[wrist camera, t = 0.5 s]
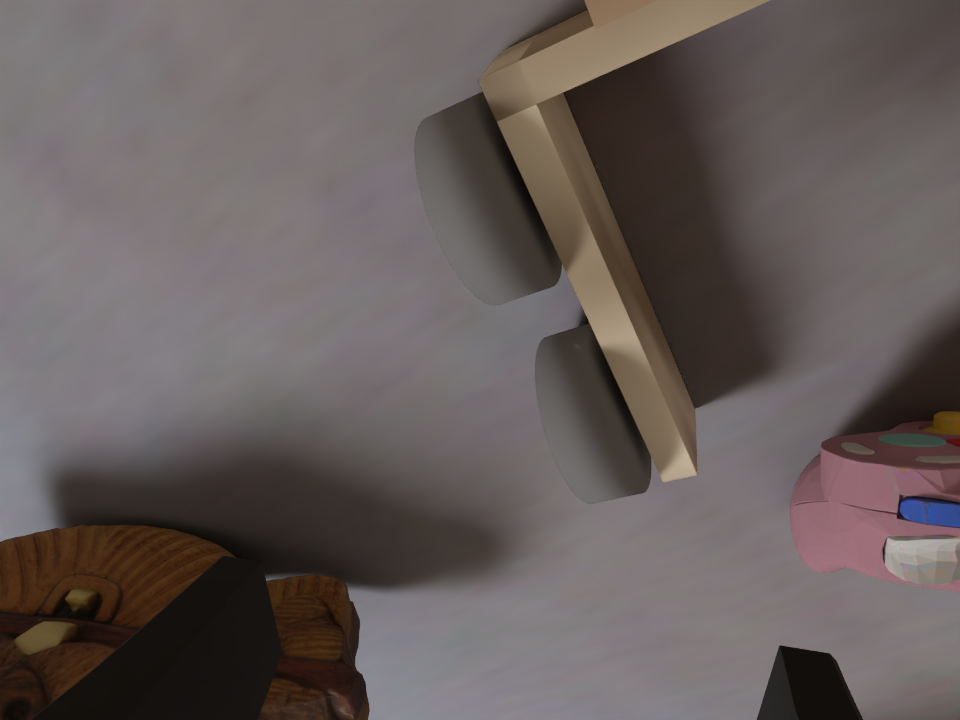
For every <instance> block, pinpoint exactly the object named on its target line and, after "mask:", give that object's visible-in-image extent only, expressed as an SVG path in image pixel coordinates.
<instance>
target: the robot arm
mask: <svg viewBox="0 0 960 720" xmlns="http://www.w3.org/2000/svg"><path fill="white" fill-rule="evenodd" d="M281 655H282V647H281V643H280V639H279V634H278V630H277V626H276V622H275V617H274V613H273V609H272V604H271V600H270V596H269V591H268V587H267V583H266V578H265V574H264V570H263V565H262V562H260V561H254V560H248V559H241V558H235V557H229V556H222V557H221V558H220V559H218V560H217V561H216V562H215V563H214V564H213V565H211V566H210V567H209V568H208V569H207V570H206V571H205V572H203V573H202V574H201V575H200V576H199V577H198V578H197V579H196V580H194V581H193V582H192V583H191V584H190V585H189V586H188V587H187V588H185V589H184V590H183V591H182V592H181V593H180V594H179V595H178V596H177V597H175V598H174V599H173V600H172V601H171V602H170V603H169V604H168V605H166V606H165V607H164V608H163V609H162V610H161V611H160V612H159V613H157V614H156V615H155V616H154V617H153V618H152V619H151V620H150V621H148V622H147V623H146V624H145V625H144V626H143V627H142V628H140V629H139V630H138V631H137V632H136V633H135V634H134V635H132V636H131V637H130V638H129V639H128V640H127V641H125V642H124V643H123V644H122V645H121V646H120V647H118V648H117V649H116V650H115V651H114V652H113V653H111V654H110V655H109V656H108V657H107V658H106V659H104V660H103V661H102V662H101V663H100V664H98V665H97V666H96V667H95V668H94V669H93V670H91V671H90V672H89V673H88V674H87V675H85V676H84V677H83V678H82V679H81V680H79V681H78V682H77V683H76V684H75V685H73V686H72V687H71V688H70V689H68V690H67V691H66V692H64V693H63V694H62V695H61V696H59V697H58V698H57V699H56V700H54V701H53V702H52V703H51V704H49V705H48V706H47V707H46V708H44V709H43V710H42V711H41V712H39V713H38V714H37V715H35V716H34V717H33V718H32V719H30V720H258V717H259V714H260V712H261V709H262V707H263V704H264V701H265V699H266V696H267V694H268V691H269V688H270V686H271V683H272V680H273V677H274V674H275V672H276V669H277V666H278V663H279V660H280V658H281ZM757 720H863V719H862V716H861V714H860V712H859V710H858V708H857V706H856V704H855V702H854V699H853V697H852V695H851V693H850V691H849V688H848V686H847V684H846V682H845V680H844V677H843V675H842V673H841V670H840V668H839V666H838V663H837V661H836V660H835V659H834V658H833V657H832V656H831V654H829V653H823V652H817V651H811V650H805V649H798V648H792V647H786V646H779V649H778V652H777V655H776V659H775V662H774V665H773V668H772V672H771V675H770V678H769V682H768V685H767V688H766V691H765V695H764V698H763V701H762V704H761V708H760V711H759V714H758V717H757Z"/></svg>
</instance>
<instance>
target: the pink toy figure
mask: <svg viewBox="0 0 960 720" xmlns="http://www.w3.org/2000/svg"><path fill="white" fill-rule="evenodd" d="M790 520H791V531H792V534H793V538H794V542H795V546H796V549H797V551H798V553H799V555H800V557H801V559H802V561H803V562H804V563H805V564H806V565H807V566H808V567H809V568H811V569H812V570H814V571H817V572H822V573H828V572H834V571H837V570H839V569H842V568H846V567H848V568H851V569H854V570H856V571H859V572H861V573H864V574H866V575H869V576H872V577H876V578H879V579H883V580H887V581H893V582H899V583H905V584H911V585H916V586H922V587H929V588H935V589H943V590H950V591H958V592H960V412H956V411H942V412H939V413H937V414H935V415H934V418H933V421H916V422H908V423H901V424H900V425H898V426H896V427H895V428H893V429H891V430H887V431H881V432H872V433H863V434H854V435H846V436H837V437H833V438H830V439H827V440H825V441H823V442H822V444H821V454H819V455H818V456H816V457H815V458H814V459H813V460H812V461H811V462H810V463H809V464H808V465H807V466H806V468H805V469H804V471H803V472H802V473H801V475H800V477H799V479H798V480H797V482H796V484H795V486H794V489H793V493H792V497H791V504H790Z"/></svg>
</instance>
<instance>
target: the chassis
mask: <svg viewBox="0 0 960 720" xmlns="http://www.w3.org/2000/svg"><path fill="white" fill-rule="evenodd" d="M584 1H585V3H586V6H587V9H588V10H586V11H584V12H582V13H580V14H578V15H576V16H574V17H572V18H570V19H568V20H566V21H564V22H561V23H559V24H557V25H555V26H553V27H551V28H549V29H547V30H545V31H543V32H541V33H539V34H537V35H535V36H532V37H530V38H528V39H526V40H524V41H522V42H520V43H518V44H516V45H514V46H512V47H510V48H508V49H506V50H503V51H502V53H501V54H500V55H499V56H498V57H497V58H496V60H495V61H494V62H493V63H492V64H491V66H490V67H489V68H488V69H487V70H486V71H485V73H484V74H483V75H482V76H481V77H480V78H479V80H478V82H479V84H480V87H481V89H482V91H483V92H482V93H479V94H476V95H474V96H472V97H470V98H468V99H466V100H464V101H461V102H459V103H457V104H455V105H453V106H451V107H449V108H446V109H444V110H442V111H440V112H438V113H436V114H433V115H431V116H429V117H427V118H425V119H424V120H423V121H422V122H421V123H420V125H419V127H418V129H417V132H416V137H415V147H414V153H415V166H416V174H417V179H418V184H419V189H420V193H421V197H422V200H423V204H424V207H425V210H426V213H427V216H428V219H429V221H430V224H431V227H432V229H433V231H434V234H435V236H436V238H437V241H438V243H439V245H440V247H441V249H442V251H443V253H444V254H445V256H446V258H447V260H448V262H449V263H450V265H451V267H452V268H453V270H454V271H455V273H456V274H457V276H458V277H459V278H460V280H461V281H462V282H463V284H464V285H465V286H466V287H467V288H468V289H469V290H470V292H471V293H473V294H474V295H475V296H476V297H477V298H478V299H480V300H481V301H483V302H484V303H487V304H489V305H500V304H503V303H506V302H509V301H512V300H515V299H518V298H521V297H524V296H527V295H529V294H532V293H535V292H538V291H541V290H544V289H547V288H550V287H553V286H554V285H556V284H557V282H558V281H559V278H560V275H561V269H562V264H563V266H564V269H565V271H566V273H567V275H568V277H569V279H570V282H571V284H572V286H573V288H574V290H575V292H576V295H577V297H578V299H579V301H580V303H581V305H582V308H583V310H584V312H585V314H586V316H587V318H588V321H589V323H590V324H586V325H583V326H580V327H577V328H573V329H570V330H567V331H564V332H561V333H557V334H554V335H551V336H548V337H545V338H544V339H543V340H542V341H541V342H540V344H539V346H538V349H537V354H536V361H535V382H536V392H537V399H538V405H539V410H540V415H541V420H542V423H543V427H544V431H545V434H546V437H547V440H548V444H549V446H550V449H551V452H552V455H553V457H554V459H555V462H556V464H557V466H558V468H559V470H560V472H561V474H562V476H563V478H564V480H565V481H566V483H567V485H568V486H569V487H570V489H571V490H572V492H573V493H574V494H575V495H576V496H577V497H578V498H579V499H580V500H581V501H583V502H585V503H587V504H593V503H598V502H603V501H608V500H612V499H617V498H622V497H626V496H631V495H636V494H641V493H644V492H645V491H646V490H647V489H648V487H649V484H650V479H651V457H652V459H653V461H654V463H655V466H656V468H657V470H658V472H659V474H660V476H661V479H662V481H663V482H667V481H671V480H676V479H681V478H685V477H690V476H695V475H697V449H696V419H695V408H694V406H693V403H692V401H691V399H690V396H689V394H688V391H687V389H686V387H685V384H684V382H683V379H682V377H681V375H680V372H679V370H678V367H677V365H676V363H675V360H674V358H673V355H672V353H671V351H670V348H669V346H668V343H667V341H666V339H665V336H664V334H663V331H662V329H661V327H660V324H659V322H658V319H657V317H656V315H655V312H654V310H653V307H652V305H651V303H650V300H649V298H648V295H647V293H646V291H645V288H644V286H643V283H642V281H641V279H640V276H639V274H638V271H637V269H636V267H635V264H634V262H633V259H632V257H631V255H630V252H629V250H628V247H627V245H626V243H625V240H624V238H623V235H622V233H621V231H620V228H619V226H618V223H617V221H616V219H615V216H614V214H613V211H612V209H611V207H610V204H609V202H608V199H607V197H606V195H605V192H604V190H603V187H602V185H601V183H600V180H599V178H598V175H597V173H596V171H595V168H594V166H593V163H592V161H591V159H590V156H589V154H588V151H587V149H586V147H585V144H584V142H583V139H582V137H581V135H580V132H579V130H578V127H577V125H576V123H575V120H574V118H573V115H572V113H571V111H570V108H569V106H568V103H567V101H566V99H565V96H564V94H563V92H565V91H568V90H570V89H572V88H574V87H577V86H579V85H581V84H583V83H586V82H588V81H590V80H592V79H595V78H597V77H599V76H601V75H604V74H606V73H608V72H610V71H613V70H615V69H617V68H619V67H622V66H624V65H626V64H628V63H631V62H633V61H635V60H637V59H640V58H642V57H644V56H646V55H649V54H651V53H653V52H655V51H658V50H660V49H662V48H665V47H667V46H669V45H671V44H674V43H676V42H678V41H680V40H683V39H685V38H687V37H689V36H692V35H694V34H696V33H698V32H701V31H703V30H705V29H707V28H710V27H712V26H714V25H716V24H719V23H721V22H723V21H725V20H728V19H730V18H732V17H734V16H737V15H739V14H741V13H743V12H746V11H748V10H750V9H752V8H755V7H757V6H759V5H761V4H764V3H766V2H768V1H770V0H584Z"/></svg>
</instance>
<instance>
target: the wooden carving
mask: <svg viewBox="0 0 960 720" xmlns="http://www.w3.org/2000/svg"><path fill="white" fill-rule="evenodd" d="M222 556H229V557H235V556H234V555H233V554H231V553H230V552H229V551H227V550H226V549H224V548H223V547H221V546H219V545H217V544H215V543H213V542H210V541H208V540H204V539H202V538H199V537H197V536H194V535H191V534H187V533H184V532H180V531H177V530H174V529H164V528H157V527H151V526H133V525H109V526H103V525H94V526H87V525H83V524H82V525H79V526H76V527H66V528H61V529H59V528H55V529H51V530H47V531H43V532H36V533H34V534H30V535H26V536H21V537H15V538H11V539H7V540H4V541H1V542H0V720H30V719H32V718H33V717H34V716H35V715H37V714H38V713H39V712H41V711H42V710H43V709H44V708H46V707H47V706H48V705H49V704H51V703H52V702H53V701H54V700H56V699H57V698H58V697H59V696H61V695H62V694H63V693H64V692H66V691H67V690H68V689H70V688H71V687H72V686H73V685H75V684H76V683H77V682H78V681H79V680H81V679H82V678H83V677H84V676H85V675H87V674H88V673H89V672H90V671H91V670H93V669H94V668H95V667H96V666H97V665H98V664H100V663H101V662H102V661H103V660H104V659H106V658H107V657H108V656H109V655H110V654H111V653H113V652H114V651H115V650H116V649H117V648H118V647H120V646H121V645H122V644H123V643H124V642H125V641H127V640H128V639H129V638H130V637H131V636H132V635H134V634H135V633H136V632H137V631H138V630H139V629H140V628H142V627H143V626H144V625H145V624H146V623H147V622H148V621H150V620H151V619H152V618H153V617H154V616H155V615H156V614H157V613H159V612H160V611H161V610H162V609H163V608H164V607H165V606H166V605H168V604H169V603H170V602H171V601H172V600H173V599H174V598H175V597H177V596H178V595H179V594H180V593H181V592H182V591H183V590H184V589H185V588H187V587H188V586H189V585H190V584H191V583H192V582H193V581H194V580H196V579H197V578H198V577H199V576H200V575H201V574H202V573H203V572H205V571H206V570H207V569H208V568H209V567H210V566H211V565H213V564H214V563H215V562H216V561H217V560H218V559H220V558H221V557H222ZM235 558H236V557H235ZM266 583H267V587H268V591H269V596H270V600H271V604H272V609H273V613H274V617H275V622H276V626H277V630H278V634H279V639H280V643H281V647H282V655H281V658H280V660H279V663H278V666H277V669H276V672H275V674H274V677H273V680H272V683H271V686H270V688H269V691H268V694H267V696H266V699H265V701H264V704H263V707H262V709H261V712H260V714H259V717H258V720H368V716H369V711H370V710H369V703H368V698H367V693H366V684H365V681H364V679H363V676H362V674H361V673H359V672H358V671H357V670H356V667H355V656H356V653H357V649H358V643H359V629H360V619H359V617H358V614H357V612H356V609H355V607H354V604H353V602H351V601H350V599H349V594H348V589H347V586H346V584H345V582H344V581H343V580H340V579H338V578H335V577H330V576H324V575H317V574H312V575H305V576H295V577H288V578H284V579H275V580H269V581H266Z"/></svg>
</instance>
